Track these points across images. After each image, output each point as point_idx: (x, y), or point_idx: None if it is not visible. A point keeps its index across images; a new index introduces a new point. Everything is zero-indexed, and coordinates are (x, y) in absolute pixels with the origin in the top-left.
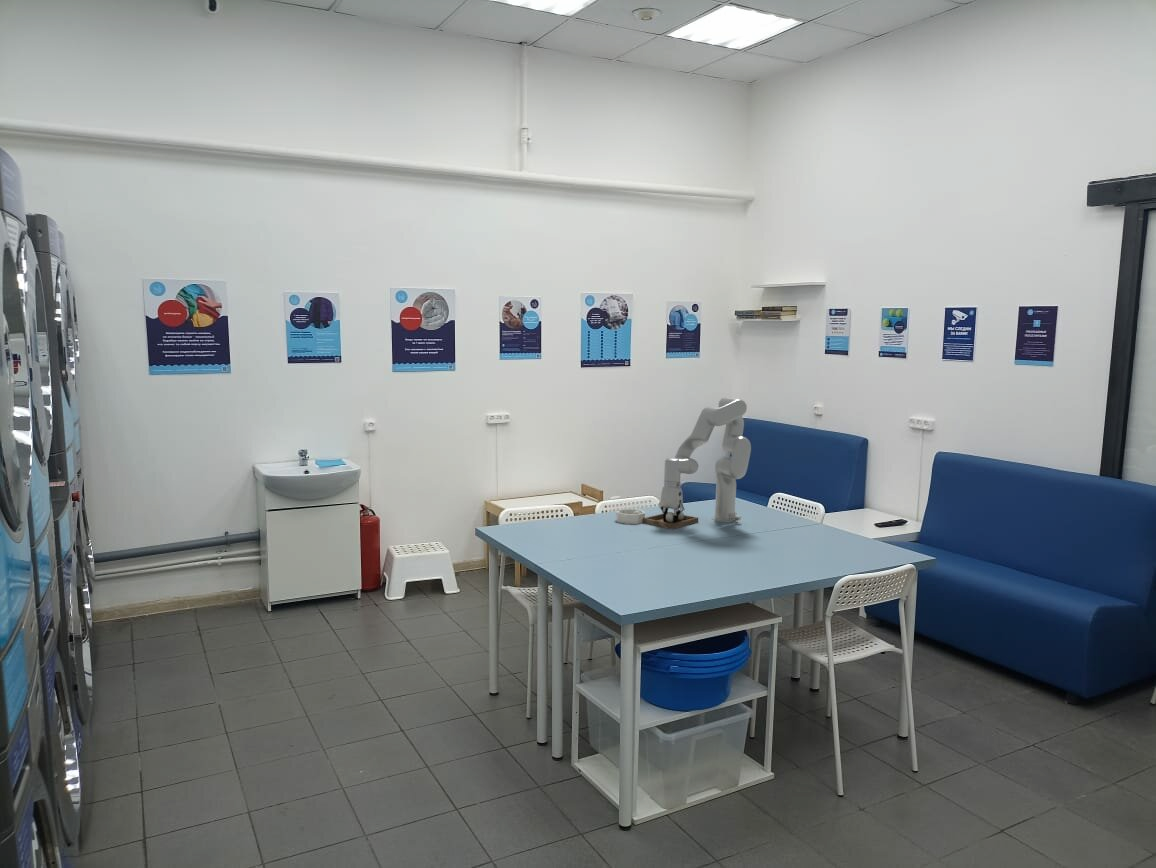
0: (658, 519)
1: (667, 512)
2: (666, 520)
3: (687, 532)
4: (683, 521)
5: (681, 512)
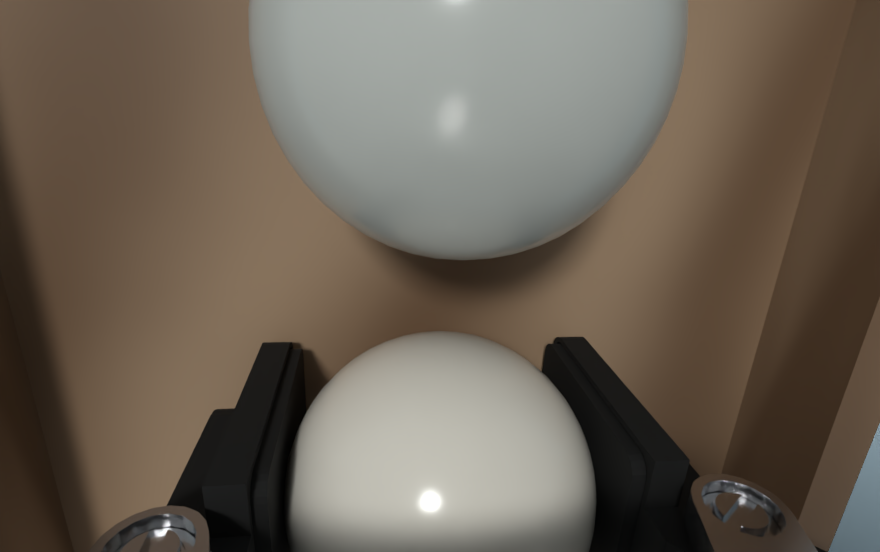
0: (27, 391)
1: (205, 492)
2: (303, 416)
3: (870, 548)
4: (840, 509)
5: (666, 105)
